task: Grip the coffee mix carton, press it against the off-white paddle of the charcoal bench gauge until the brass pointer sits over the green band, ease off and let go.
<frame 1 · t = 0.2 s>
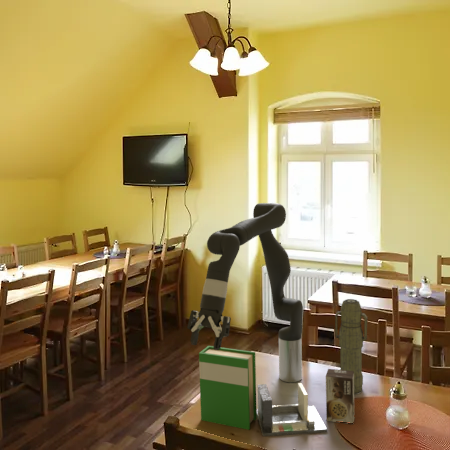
hand: (204, 347, 149), 31 cm above the table, tool tilted 20°, fingers open, 8 cm apart
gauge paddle: (303, 405, 162), point 6 cm above the table, slide at 0.0 cm
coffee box: (340, 418, 165), on the table
hardback book: (228, 420, 166), on the table
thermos: (351, 389, 187), on the table
gauge frame: (285, 421, 164), on the table
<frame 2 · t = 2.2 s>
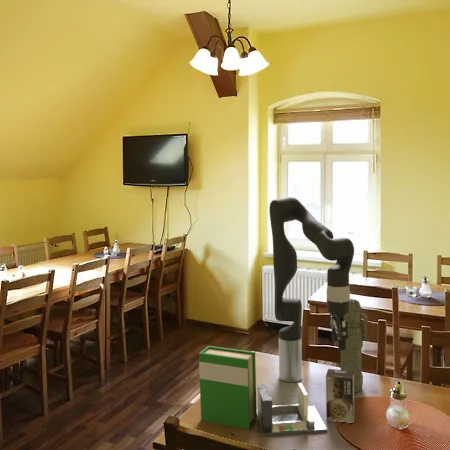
hand: (338, 345, 161), 26 cm above the table, tool pointing down, fingers open, 8 cm apart
nothing on the table moved.
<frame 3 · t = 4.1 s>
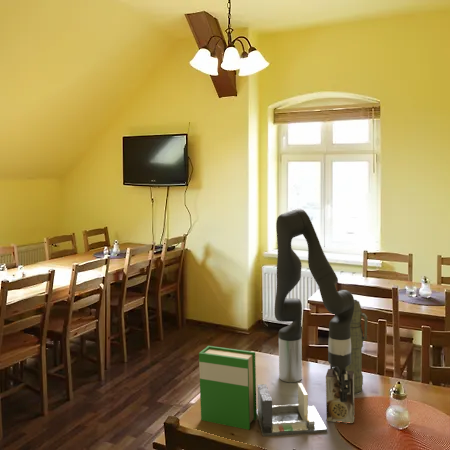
hand: (339, 395, 164), 8 cm above the table, tool pointing down, fingers open, 8 cm apart
nothing on the table moved.
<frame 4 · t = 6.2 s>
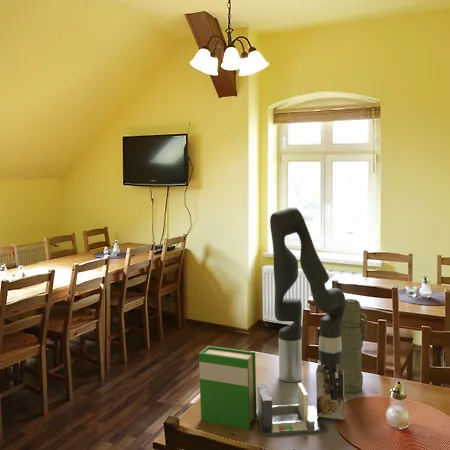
hand: (330, 393, 164), 9 cm above the table, tool pointing down, fingers closed on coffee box, 8 cm apart
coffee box: (330, 414, 165), point 1 cm above the table, touching gripper
everything else where it was.
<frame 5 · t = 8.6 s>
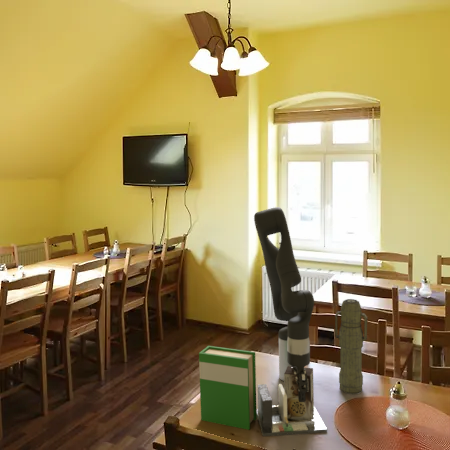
hand: (299, 395, 163), 9 cm above the table, tool pointing down, fingers closed on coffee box, 8 cm apart
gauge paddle: (283, 406, 161), point 6 cm above the table, slide at 6.9 cm, touching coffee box
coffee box: (299, 416, 164), point 2 cm above the table, touching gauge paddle, gripper
everything else where it was.
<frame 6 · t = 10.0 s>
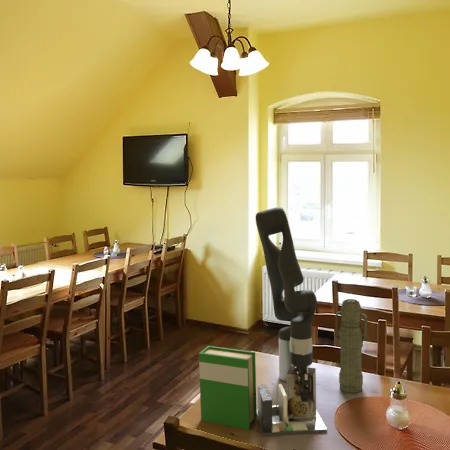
hand: (301, 395, 163), 9 cm above the table, tool pointing down, fingers closed on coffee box, 8 cm apart
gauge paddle: (283, 406, 161), point 6 cm above the table, slide at 6.9 cm
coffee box: (302, 416, 164), point 2 cm above the table, touching gripper
everything else where it was.
when the fingers open (9 cm above the table, at t = 10.6 s): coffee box stays where it is, resting on gauge frame.
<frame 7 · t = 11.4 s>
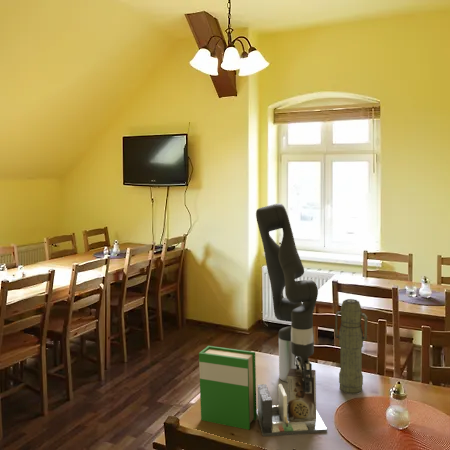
hand: (303, 385, 163), 12 cm above the table, tool pointing down, fingers open, 8 cm apart
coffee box: (302, 418, 164), point 1 cm above the table, touching gauge frame, gripper
everything else where it was.
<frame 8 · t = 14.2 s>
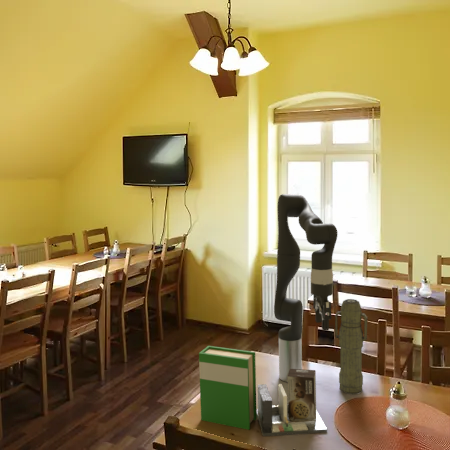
hand: (322, 326, 169), 30 cm above the table, tool pointing down, fingers open, 8 cm apart
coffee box: (302, 418, 164), point 1 cm above the table, touching gauge frame
everything else where it was.
at the end: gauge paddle slide at 6.9 cm; the gripper is holding nothing; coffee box tilted 0° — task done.
